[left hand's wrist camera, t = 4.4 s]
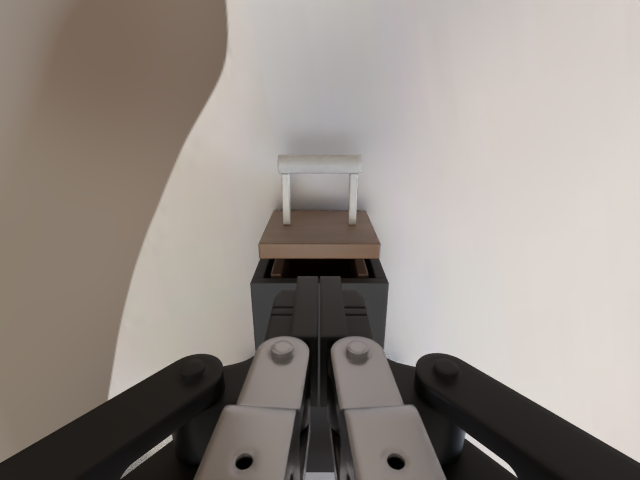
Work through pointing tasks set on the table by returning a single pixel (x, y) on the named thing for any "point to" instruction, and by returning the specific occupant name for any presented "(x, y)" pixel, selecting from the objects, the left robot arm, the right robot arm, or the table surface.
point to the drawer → (319, 227)
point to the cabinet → (376, 307)
